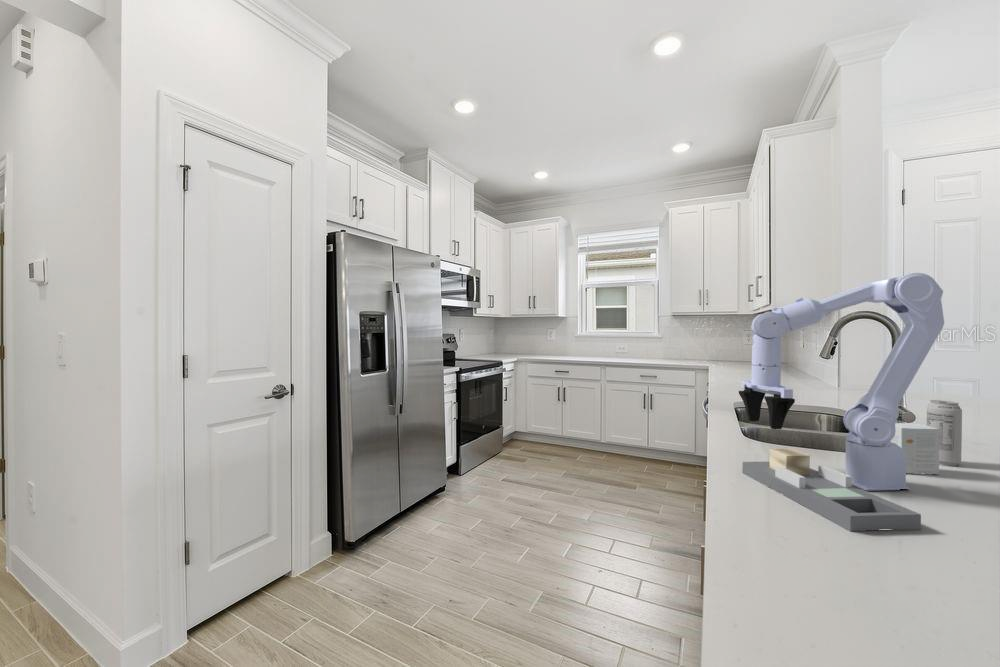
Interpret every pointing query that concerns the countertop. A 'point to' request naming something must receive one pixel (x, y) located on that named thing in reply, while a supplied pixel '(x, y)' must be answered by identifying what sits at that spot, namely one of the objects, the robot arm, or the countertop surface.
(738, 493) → the countertop surface
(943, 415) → the energy drink can
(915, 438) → the small box
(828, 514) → the grey long flat tray
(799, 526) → the countertop surface
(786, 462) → the block
